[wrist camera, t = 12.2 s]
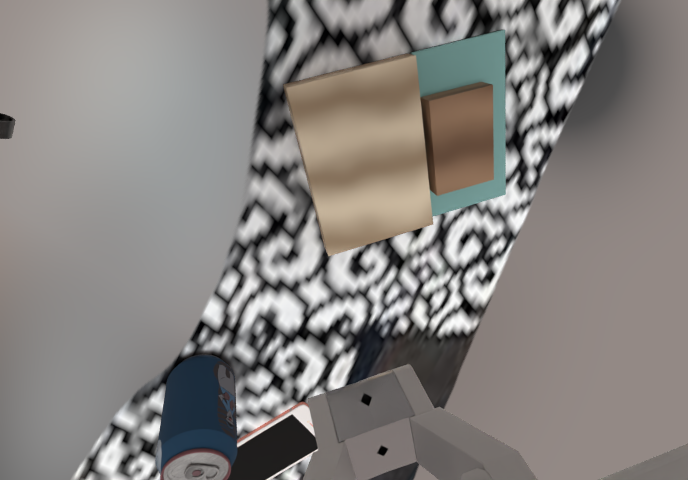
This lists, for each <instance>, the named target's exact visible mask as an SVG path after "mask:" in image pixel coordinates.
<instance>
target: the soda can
mask: <svg viewBox="0 0 688 480" xmlns="http://www.w3.org/2000/svg"><path fill="white" fill-rule="evenodd" d="M236 456H237V424H236V393H235V376H234V373H233V371H232V369H231V368H230V367H229V365H228V364H226V363H225V362H224V361H223V360H222V359H220V358H218V357H216V356H213V355H208V354H200V355H195V356H192V357H189V358H187V359H185V360H184V361H183V362H181V363H180V364H179V365H178V366H177V367H175V368H174V370H173V371H172V372H171V373H170V375H169V377H168V380H167V385H166V392H165V398H164V405H163V412H162V419H161V425H160V432H159V439H158V446H157V452H156V460H155V461H156V466H157V469H158V471H159V473H160V475H161V476H160V479H161V480H227V479H228V478H229V476H230V473H231V467H232V465H233V463H234V461H235V459H236Z"/></svg>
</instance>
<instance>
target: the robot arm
mask: <svg viewBox="0 0 688 480" xmlns="http://www.w3.org/2000/svg"><path fill="white" fill-rule="evenodd" d="M308 405H309V410H310V415H311V419H312V424H313V428H314V433H315V437H316V442H317V446H318V451H316V452H313V454H312V457H311V460H310V462H309V465H308V468H307V470H306V473H305V475H304V478H303V480H368V479H370V478H373V477H375V476H378V475H380V474H382V473H385V472H387V471H390V470H393V469H396V468H399V467H402V466H405V465H408V464H411V463H414V462H417V461H418V463H419V464H420V465H421V466H422V467H424V468H425V469H426V470H427V471H429V472H430V473H431V474H432V475H434V476H435V477H436V478H437V479H439V480H537V478H536V477H535V475H534V474H533V472H532V471H531V469H530V468H529V467H528V465H527V463H526V462H525V461H524V459H523V458H522V456H521V455H520V453H519V452H518V451H517V450H515V449H513V448H511V447H510V446H508V445H506V444H504V443H502V442H501V441H499V440H497V439H495V438H494V437H492V436H490V435H488V434H486V433H485V432H483V431H481V430H479V429H478V428H476V427H474V426H472V425H470V424H469V423H467V422H465V421H463V420H462V419H460V418H458V417H456V416H454V415H453V414H451V413H449V412H447V411H446V410H444V409H442V408H440V407H438V408H435V409H434V407H433V405H432V403H431V401H430V400H429V398H428V396H427V394H426V392H425V390H424V389H423V387H422V385H421V383H420V381H419V379H418V378H417V376H416V374H415V372H414V370H413V368H412V366H410V365H409V364H407V365H405V366H402V367H399V368H396V369H393V370H390V371H387V372H384V373H381V374H378V375H376V376H373V377H370V378H367V379H364V380H362V381H359V382H357V383H354V384H351V385H348V386H345V387H341V388H338V389H335V390H332V391H329V392H326V393H323V394H320V395H317V396H314V397H311V398H308ZM599 480H688V444H686V445H683V446H681V447H679V448H676V449H673V450H671V451H669V452H666V453H664V454H661V455H659V456H656V457H654V458H651V459H649V460H646V461H644V462H641V463H639V464H636V465H634V466H632V467H629V468H626V469H624V470H621V471H619V472H616V473H614V474H611V475H609V476H607V477H604V478H601V479H599Z"/></svg>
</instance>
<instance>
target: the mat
mask: <svg viewBox="0 0 688 480" xmlns="http://www.w3.org/2000/svg"><path fill="white" fill-rule="evenodd" d="M410 54H412V55H416V60H417V70H418V80H419V90H420V97H423V96H427V95H431V94H435V93H439V92H443V91H447V90H451V89H455V88H459V87H462V86H466V85H470V84H474V83H478V82H484V83H488V84H492V85H493V138H494V180H491V181H487V182H484V183H480V184H477V185H473V186H470V187H466V188H463V189H459V190H456V191H452V192H449V193H446V194H442V195H439V196H437V195H435V194H434V193H433V192H432V191H431V190H430V199H431V208H432V217H433V216H436V215H439V214H443V213H446V212H449V211H452V210H456V209H459V208H462V207H466V206H469V205H472V204H476V203H479V202H482V201H486V200H489V199H492V198H495V197H499V196H502V195H505V194H506V191H505V30H499V31H495V32H491V33H487V34H483V35H479V36H475V37H471V38H467V39H463V40H459V41H455V42H451V43H447V44H443V45H439V46H435V47H431V48H427V49H423V50H419V51H415V52H411V53H410Z"/></svg>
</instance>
